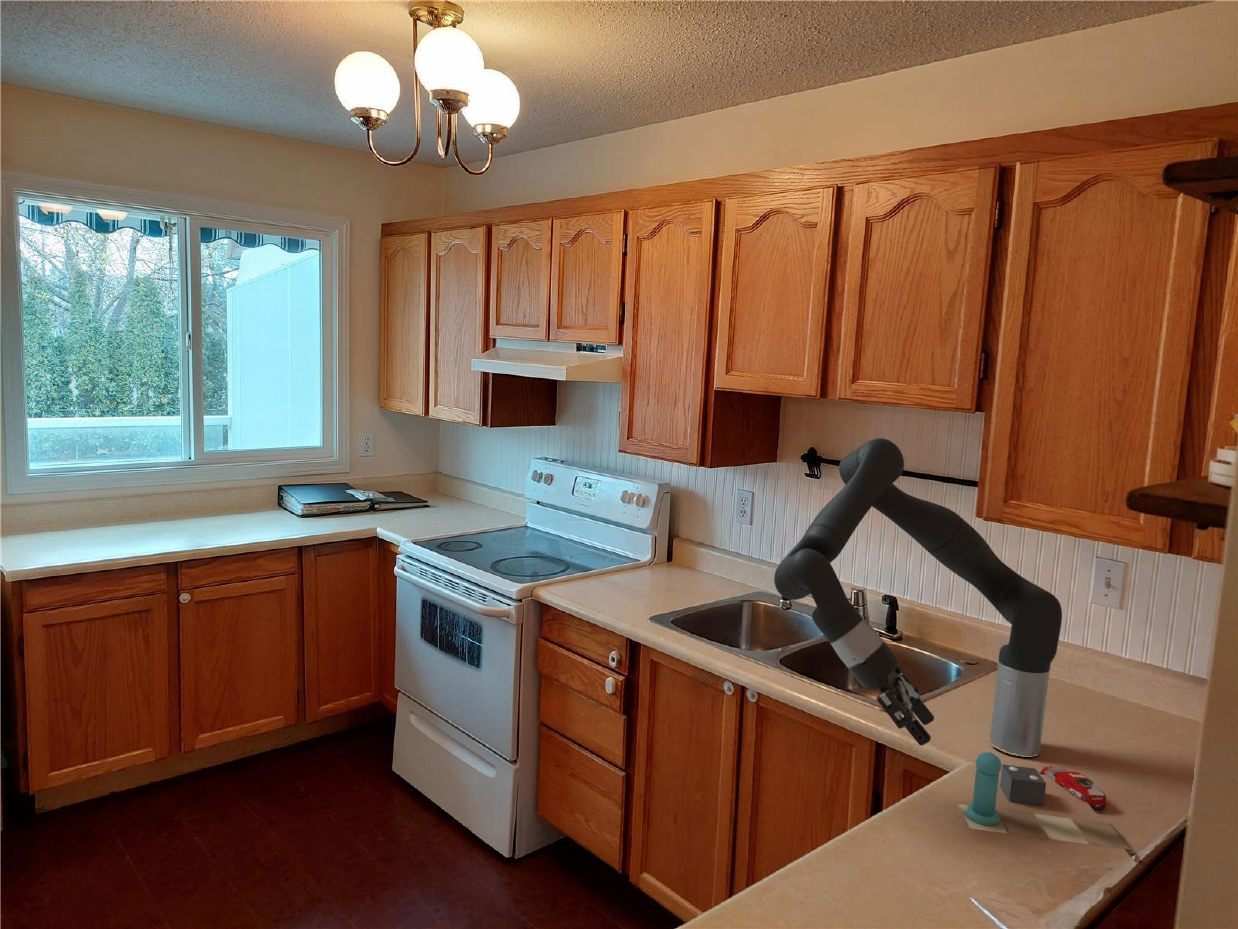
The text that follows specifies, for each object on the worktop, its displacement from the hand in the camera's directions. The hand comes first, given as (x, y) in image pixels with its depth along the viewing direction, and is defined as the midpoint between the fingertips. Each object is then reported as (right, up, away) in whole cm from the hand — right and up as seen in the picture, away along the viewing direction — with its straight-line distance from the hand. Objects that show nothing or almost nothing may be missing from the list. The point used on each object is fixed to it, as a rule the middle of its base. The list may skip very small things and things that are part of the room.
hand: (928, 732), depth 140 cm
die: (+18, -14, +6) cm, 24 cm away
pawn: (+8, -13, -2) cm, 16 cm away
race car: (+30, -15, +12) cm, 35 cm away
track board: (+17, -15, -3) cm, 23 cm away
